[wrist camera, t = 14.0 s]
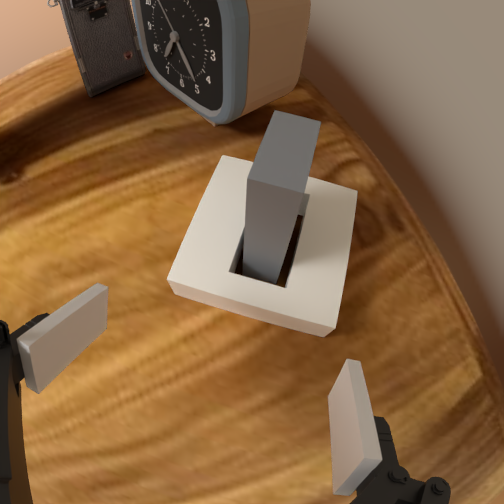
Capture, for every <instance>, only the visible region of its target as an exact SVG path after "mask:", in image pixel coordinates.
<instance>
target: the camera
mask: <svg viewBox="0 0 504 504" xmlns="http://www.w3.org/2000/svg"><path fill="white" fill-rule="evenodd" d="M49 1H50V0H48V3H47V4H48V6H50V7H54V6H56V5H58V3H57V1H58V2H59V4H60V6H61V10H62V14H63V18H64V21H65V25H66V28H67V32H68V35H69V38H70V42H71V45H72V48H73V52H74V55H75V58H76V61H77V64H78V67H79V70H80V73H81V76H82V79H83V82H84V85H85V88H86V90H87V93H88V95H89V97H93V96H95V95H97V94H99V93H101V92H103V91H106V90H108V89H110V88H112V87H114V86H117V85H119V84H121V83H124V82H126V81H128V80H131V79H133V78H136V77H138V76H141V75H143V74H145V72H146V71H145V64H144V60H143V56H142V53H141V50H140V45H139V41H138V35H137V31H136V27H135V23H134V19H133V14H132V10H131V5H130V0H54V2H55V5H53V6H51V5H50V4H49Z"/></svg>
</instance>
